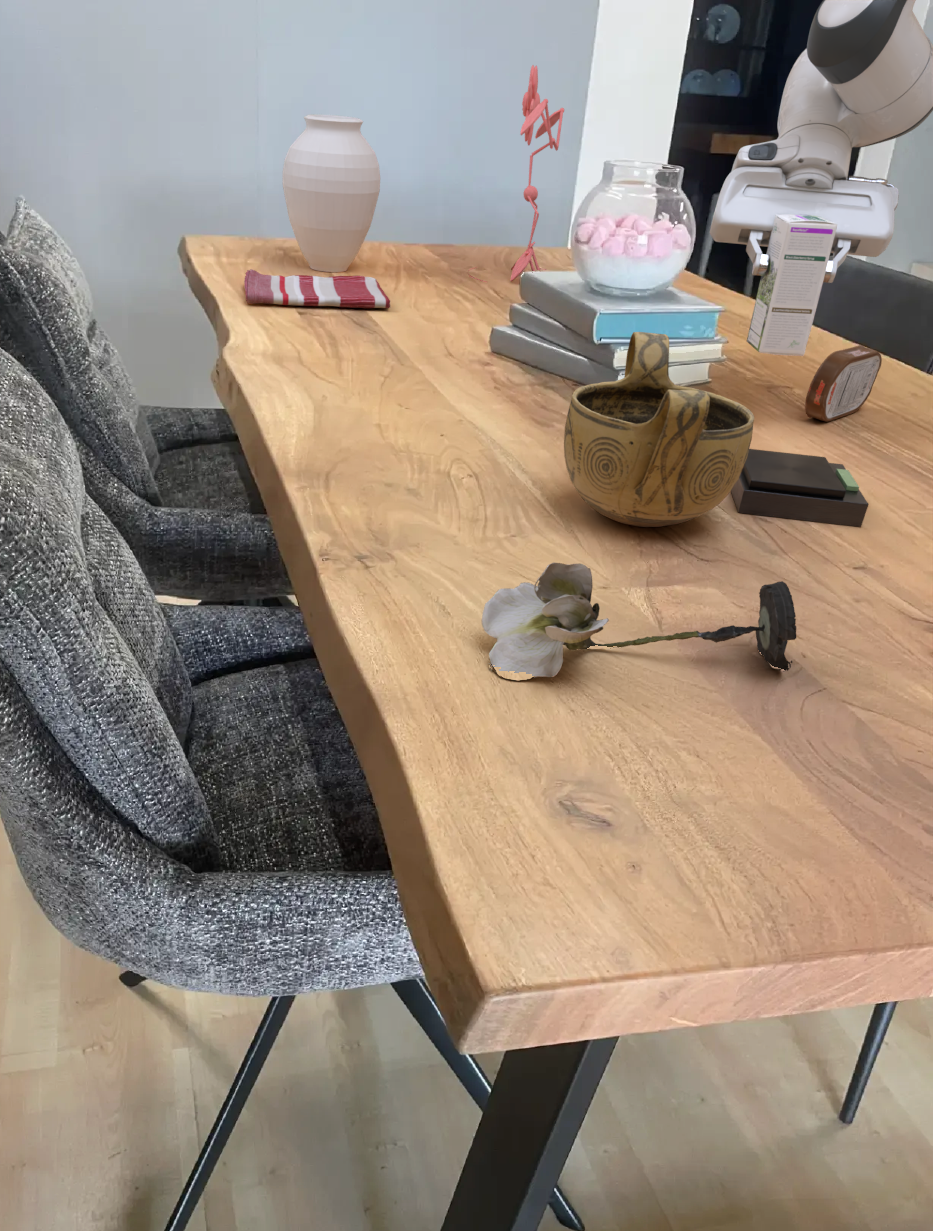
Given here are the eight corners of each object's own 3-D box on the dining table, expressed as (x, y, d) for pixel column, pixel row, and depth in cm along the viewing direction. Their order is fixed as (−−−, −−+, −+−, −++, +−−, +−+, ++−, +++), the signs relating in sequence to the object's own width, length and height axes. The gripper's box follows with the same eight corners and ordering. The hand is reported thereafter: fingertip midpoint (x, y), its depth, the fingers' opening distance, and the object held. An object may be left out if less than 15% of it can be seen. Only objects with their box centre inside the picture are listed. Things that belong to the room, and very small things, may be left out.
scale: (836, 485, 114) (845, 456, 112) (861, 527, 104) (871, 496, 102) (723, 472, 115) (731, 444, 113) (738, 512, 105) (746, 482, 103)
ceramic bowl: (543, 469, 112) (566, 322, 104) (702, 482, 112) (737, 336, 104) (563, 555, 93) (592, 383, 85) (754, 570, 93) (801, 400, 85)
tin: (848, 403, 143) (868, 339, 138) (871, 409, 141) (892, 344, 136) (796, 422, 133) (815, 354, 129) (819, 429, 132) (839, 360, 127)
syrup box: (805, 356, 125) (842, 222, 117) (756, 353, 124) (789, 218, 117) (790, 345, 129) (825, 215, 121) (743, 341, 129) (774, 211, 121)
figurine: (546, 269, 215) (575, 67, 195) (540, 293, 193) (571, 68, 174) (472, 261, 216) (493, 60, 197) (457, 284, 195) (479, 61, 176)
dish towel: (243, 284, 182) (243, 267, 181) (377, 290, 186) (378, 273, 184) (245, 306, 168) (245, 288, 167) (390, 311, 172) (391, 294, 170)
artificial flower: (797, 712, 76) (832, 609, 68) (483, 718, 77) (484, 619, 70) (770, 626, 82) (801, 523, 74) (479, 634, 83) (480, 533, 76)
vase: (280, 257, 206) (282, 109, 192) (370, 261, 208) (378, 116, 195) (282, 274, 191) (284, 116, 178) (379, 279, 194) (388, 123, 180)
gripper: (891, 200, 126) (877, 302, 123) (716, 184, 129) (699, 283, 127) (910, 161, 120) (896, 267, 117) (726, 145, 123) (708, 248, 120)
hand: (792, 275), depth 122 cm, fingers closed on syrup box, 6 cm apart
